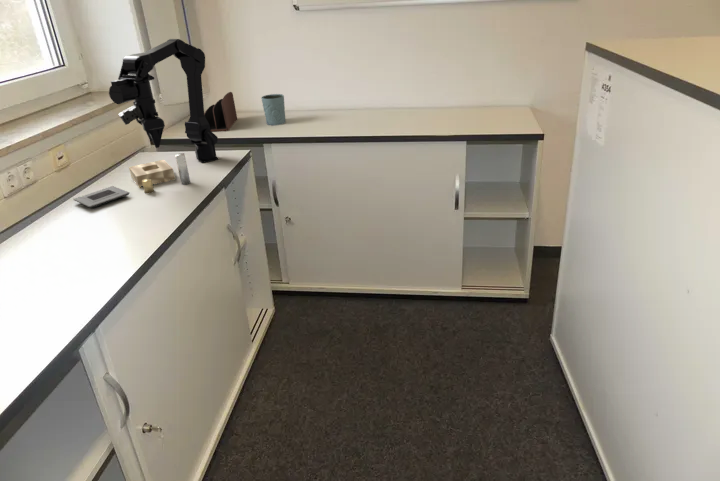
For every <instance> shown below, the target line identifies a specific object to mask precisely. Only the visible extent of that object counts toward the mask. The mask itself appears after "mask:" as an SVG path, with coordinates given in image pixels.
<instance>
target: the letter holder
mask: <svg viewBox="0 0 720 481" xmlns="http://www.w3.org/2000/svg"><path fill="white" fill-rule="evenodd" d="M204 116H205V118H206V120H207V121H208V123H209V125H210V130H211V132H212V133H215V132H217V133H218V132H229V131H230V129H231V128H232V127H233V125H234V124H235V123H236V122H237V121H238V115H237V109H236V104H235V100H234V95H233V92H232V91H229V92H227V93H226V94H225V95H223V97H222V98H221V99H219V100H218V101H217V102H216V103H215V104H211V105H210V106H209V107H207V109H206V110H204Z"/></svg>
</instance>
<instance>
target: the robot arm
mask: <svg viewBox="0 0 720 481" xmlns="http://www.w3.org/2000/svg"><path fill="white" fill-rule="evenodd" d="M171 56H174V57H175V58H176V59H178V60H179V62H180V67H181V69H182V70H183V72H184V74H185V76H186V83H187V84H186V86H187V93H188V106H189V107H188V108H189V118H188V120H187V121H184V129H185V132H184V134H185V135H186V137H187V138H188V140H189V142H190V143H191V145H194V146H195V148H194V152H195V158H196V160H197V161H199V162H200V163H208V162H213V161H217V160H219V157H218V156H217V150H216V147H215V145H216V144H217V143H218V139H219V138H218V136H217V135H216V134H215V132H211V130H210V125H209V123H208V121H207V120H206V118H205V116H204V113H205V106H204V94H203V82H202V80H203V79H202V74H203V72H204V69H205V67H206V55H205V52H203V50H202V49H201V48H198V47H196V46H193V45H192V44H189V43H187V42H184V40H182V39H180V38H169V39H167V40H166V41H165V42H163V43H161V44H159V45H157V46H154V47H152V48H150V49H148V50H147V51H144V52H140V53H132V54H128V55H125V56H124V57H123V58H122V64H121V68H120V71H119V73H118V78H117V79H118V80H112V81H110V83H111V85H110V87H109V89H108V95H109V98H110V100H111V101H112V102H113V103H114V104H115V105H121V104H125V103H128V102H131V101H133V102H132V103H133V105H132V106H130V107H128V108H126V109H124V110H122V111H120V112H119V113H118V114H117V115H118V116H119V117H120V119H121V120H122V122H123V123H124V125H129V124H130V123H131V122H133V121H134V120H136V122H137V123H138V124H139V125H141V126H142V128H143V131H145V133H146V135H147V137H148V140H149V141H150V142H153V145H154V147H155V148H156V149H157V148H160V145H161V141H162V136H163V132H164V129H165V127H166V124H165V120H164V119H163V118H162V117H160V116H159V112H158V111H157V108H156V107H157V106H156V99H154V94H153V90H152V87H151V82H150V81H154V80H155V77H154V76H152V75H151V74H150V72H151V71H152V70H154V68H155V65H157V64H158V63H160V62H162V61H163V60H166V59H168V58H169V57H171Z"/></svg>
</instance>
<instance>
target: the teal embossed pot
mask: <svg viewBox="0 0 720 481" xmlns="http://www.w3.org/2000/svg"><path fill="white" fill-rule="evenodd" d="M260 98H261V103H262V107H263V112H264V117H265V122H266V124H267V125H268V126H279V125H284V124H286V111H285V108H286V107H285V96H284V94H281V93H271V94H265V95H262V96H261V97H260Z"/></svg>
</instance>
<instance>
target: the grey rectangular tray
mask: <svg viewBox="0 0 720 481" xmlns="http://www.w3.org/2000/svg"><path fill="white" fill-rule="evenodd" d="M129 194H130V192H129V191H127V190H125V189H121V188H120V187H117V186H113V185H112V186H108V187H105V188H102V189H100V190H96V191H93V192H90V193H87V194H84V195H81V196H78V197H75V198H73V201H75V202H76V203H78V204H81V205H84V206H85V207H88V208H90V209H94V208H97V207H98V206H101V205H104V204H107V203H111V202H112V201H116V200H118V199H121V198H123V197H127V196H129Z"/></svg>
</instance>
